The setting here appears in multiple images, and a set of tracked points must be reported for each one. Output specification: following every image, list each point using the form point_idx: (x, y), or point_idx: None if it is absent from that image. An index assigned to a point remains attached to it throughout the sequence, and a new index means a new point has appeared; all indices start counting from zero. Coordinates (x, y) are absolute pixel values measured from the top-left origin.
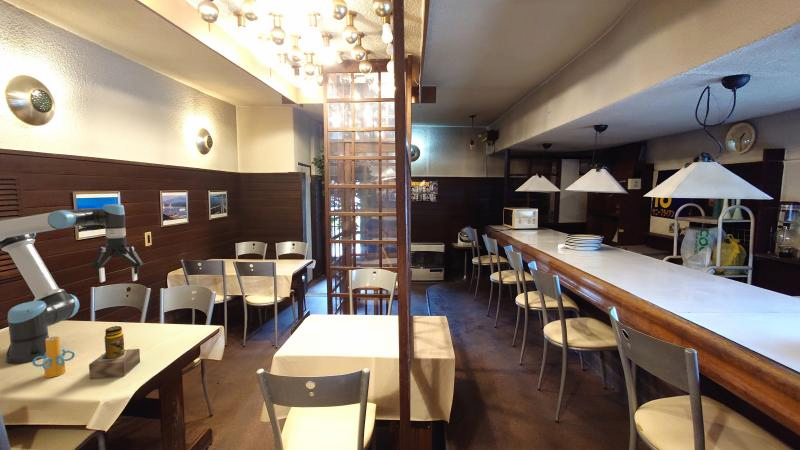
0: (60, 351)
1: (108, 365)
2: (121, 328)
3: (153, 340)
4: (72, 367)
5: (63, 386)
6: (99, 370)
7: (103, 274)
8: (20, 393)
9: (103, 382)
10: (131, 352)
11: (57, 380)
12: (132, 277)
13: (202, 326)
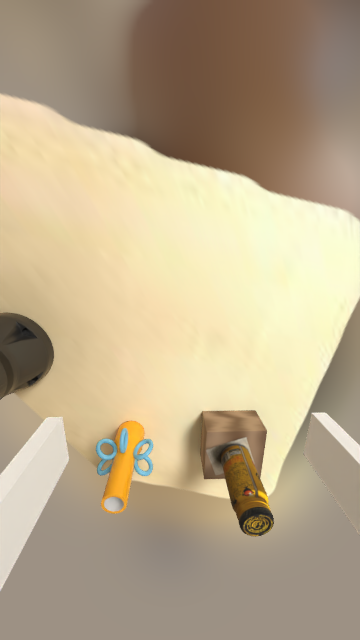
0: (132, 464)
1: None
2: (273, 518)
3: (242, 308)
4: (143, 412)
5: (173, 467)
6: None
7: (20, 507)
8: None
9: None
10: (258, 445)
11: None
12: (326, 486)
13: (345, 226)
